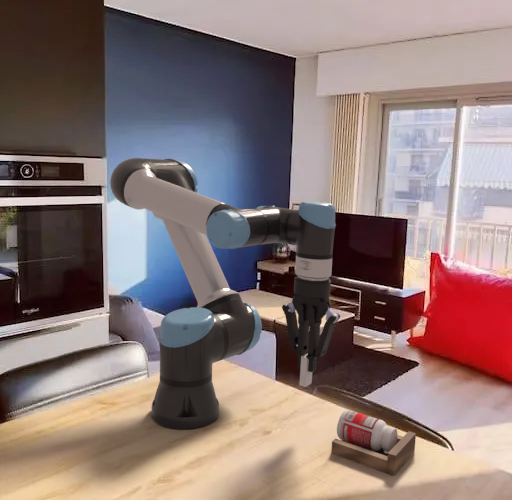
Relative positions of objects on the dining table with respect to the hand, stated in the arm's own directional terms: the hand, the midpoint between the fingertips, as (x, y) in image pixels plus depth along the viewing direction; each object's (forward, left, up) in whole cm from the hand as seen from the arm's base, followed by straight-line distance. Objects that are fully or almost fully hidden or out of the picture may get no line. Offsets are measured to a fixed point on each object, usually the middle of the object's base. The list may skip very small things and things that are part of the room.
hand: (305, 384), depth 117 cm
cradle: (+15, 0, -10) cm, 18 cm away
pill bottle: (+9, +1, -7) cm, 11 cm away
